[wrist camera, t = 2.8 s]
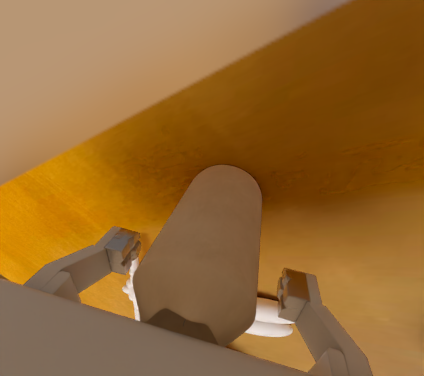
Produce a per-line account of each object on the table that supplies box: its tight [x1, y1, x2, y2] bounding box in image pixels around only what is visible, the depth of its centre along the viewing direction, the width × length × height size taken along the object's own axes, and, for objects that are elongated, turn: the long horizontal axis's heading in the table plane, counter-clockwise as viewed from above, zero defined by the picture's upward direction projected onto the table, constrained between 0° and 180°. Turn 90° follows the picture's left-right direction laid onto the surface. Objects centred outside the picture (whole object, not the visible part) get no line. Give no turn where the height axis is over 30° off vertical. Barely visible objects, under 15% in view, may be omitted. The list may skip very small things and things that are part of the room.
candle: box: [132, 165, 262, 347], centre depth 12 cm, size 6×6×10 cm
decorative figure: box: [122, 257, 295, 337], centre depth 22 cm, size 4×12×18 cm
